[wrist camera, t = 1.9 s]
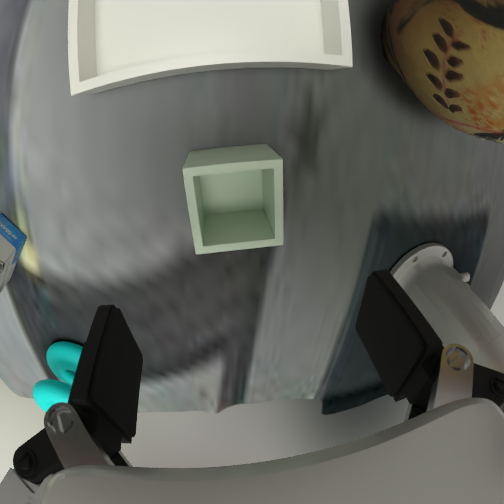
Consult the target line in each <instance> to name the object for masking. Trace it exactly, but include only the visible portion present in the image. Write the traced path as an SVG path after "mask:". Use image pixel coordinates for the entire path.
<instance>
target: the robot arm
mask: <svg viewBox="0 0 504 504" xmlns="http://www.w3.org/2000/svg"><path fill="white" fill-rule="evenodd" d="M469 280H470V275H469V273H468V272H466V273H462V274H459V273H458V272H457V271H456V270H455V269H454V268H453V258H452V255H451V253H450V251H449V250H448V249H447V248H446V247H445V246H443V245H441V244H439V243H426V244H423V245H421V246H418V247H417V248H415V249H413V250H411V251H410V252H409V253H407V254H406V255H405V256H404V257H402V258H401V259H400V260H399V261H398V262H397V264H396V265H395V266H394V267H393V268H392V270H391V271H390V272H389V271H388V270H386V269H384V270H379V271H374V272H372V274H371V276H369V277H368V279H367V283H366V288H365V292H364V296H363V300H362V303H361V307H360V311H359V315H358V318H357V322H356V330H357V333H358V335H359V337H360V339H361V341H362V342H363V344H364V346H365V348H366V350H367V352H368V354H369V356H370V358H371V360H372V362H373V364H374V366H375V368H376V370H377V372H378V374H379V376H380V378H381V380H382V382H383V384H384V386H385V388H386V390H387V392H388V394H389V395H390V396H393V397H394V400H395V402H396V401H399V400H402V399H404V398H407V400H408V402H409V405H408V408H407V412H406V415H405V419H404V422H403V423H400V424H398V425H395V426H392V427H390V428H388V429H385V430H382V431H380V432H377V433H374V434H371V435H369V436H366V437H363V438H360V439H357V440H354V441H351V442H347V443H344V444H341V445H337V446H334V447H331V448H326V449H323V450H319V451H315V452H311V453H306V454H302V455H297V456H293V457H288V458H282V459H277V460H271V461H265V462H258V463H251V464H243V465H233V466H222V467H208V468H144V467H132V465H131V464H130V463H129V461H128V460H127V459H126V457H125V456H124V455H123V454H122V452H121V451H120V450H121V443H131V441H132V437H134V436H135V434H136V422H137V410H138V399H139V389H140V380H141V372H142V364H143V357H142V353H141V351H140V349H139V347H138V345H137V343H136V341H135V340H134V338H133V335H132V333H131V331H130V329H129V327H128V325H127V323H126V321H125V319H124V317H123V314H122V312H121V310H120V309H119V308H116V307H115V306H114V305H102V306H99V307H98V309H97V312H96V314H95V317H94V320H93V323H92V326H91V329H90V332H89V335H88V338H87V341H86V342H85V343H84V346H83V348H82V352H81V355H80V358H79V362H78V365H77V368H76V372H75V376H74V379H73V383H72V387H71V391H70V395H69V399H68V403H65V402H59V403H56V404H54V405H52V406H51V407H50V408H49V409H48V410H47V412H46V414H45V417H44V426H45V428H44V429H43V430H41V431H40V432H39V433H37V434H36V435H35V436H33V437H32V438H31V439H29V440H28V441H27V442H25V443H24V444H23V445H21V446H20V447H19V448H18V449H17V450H16V452H15V454H14V457H13V465H14V469H12V468H10V470H9V471H8V472H7V474H6V476H5V477H4V479H3V480H2V482H1V484H0V504H504V327H503V326H502V324H501V323H500V322H499V321H498V320H497V318H496V317H495V316H494V315H493V313H492V312H491V311H490V310H489V309H488V307H487V306H486V305H485V304H484V303H483V302H482V301H481V299H480V298H479V297H478V296H477V295H476V294H475V293H474V292H473V291H472V290H471V288H470V286H469V284H468V283H465V282H467V281H469Z"/></svg>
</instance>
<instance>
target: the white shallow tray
mask: <svg viewBox="0 0 504 504" xmlns="http://www.w3.org/2000/svg"><path fill="white" fill-rule="evenodd" d="M68 58H69V75H70V87H71V96H73V95H85V94H96V93H99V92H103V91H106V90H110V89H113V88H117V87H121V86H125V85H129V84H133V83H138V82H142V81H147V80H152V79H157V78H163V77H168V76H174V75H181V74H188V73H195V72H204V71H213V70H225V69H240V68H308V69H323V70H333V69H340V68H348V67H353V64H352V43H351V28H350V16H349V6H348V0H69V12H68Z"/></svg>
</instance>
